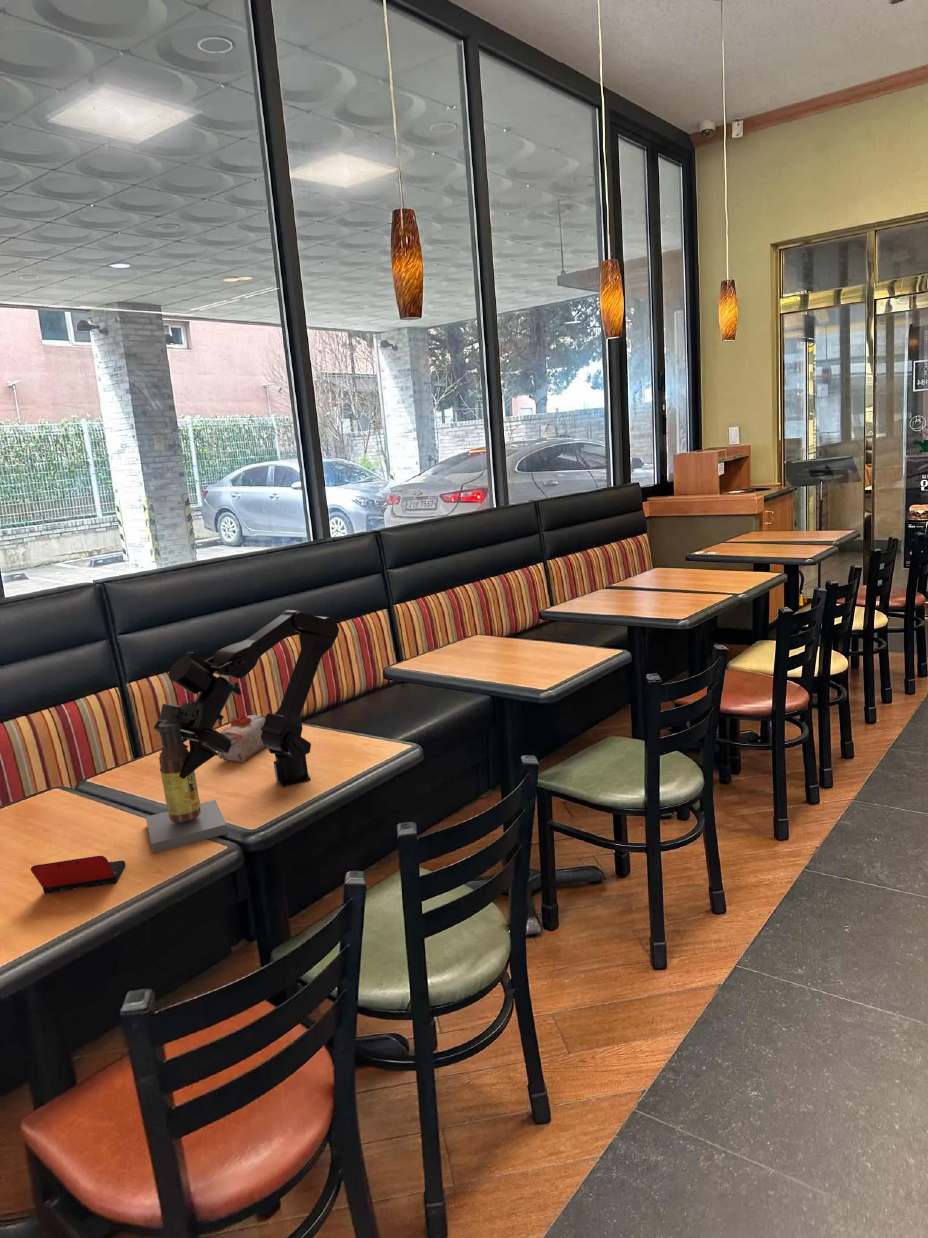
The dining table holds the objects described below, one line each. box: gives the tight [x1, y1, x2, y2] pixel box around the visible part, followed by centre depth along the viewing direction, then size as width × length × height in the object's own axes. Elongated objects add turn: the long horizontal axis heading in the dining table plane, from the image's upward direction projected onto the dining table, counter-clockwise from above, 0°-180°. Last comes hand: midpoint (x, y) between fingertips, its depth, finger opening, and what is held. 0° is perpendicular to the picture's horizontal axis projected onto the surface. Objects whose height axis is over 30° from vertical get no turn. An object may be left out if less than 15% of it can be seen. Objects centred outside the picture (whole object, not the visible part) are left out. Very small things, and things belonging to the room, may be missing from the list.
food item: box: [217, 714, 266, 764], centre depth 206 cm, size 14×8×10 cm, turn 163°
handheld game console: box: [30, 855, 126, 894], centre depth 148 cm, size 12×11×7 cm
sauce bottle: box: [158, 721, 201, 823], centre depth 165 cm, size 7×6×20 cm
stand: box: [145, 799, 229, 854], centre depth 167 cm, size 14×14×2 cm
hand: (171, 774), depth 164 cm, fingers closed on sauce bottle, 6 cm apart
